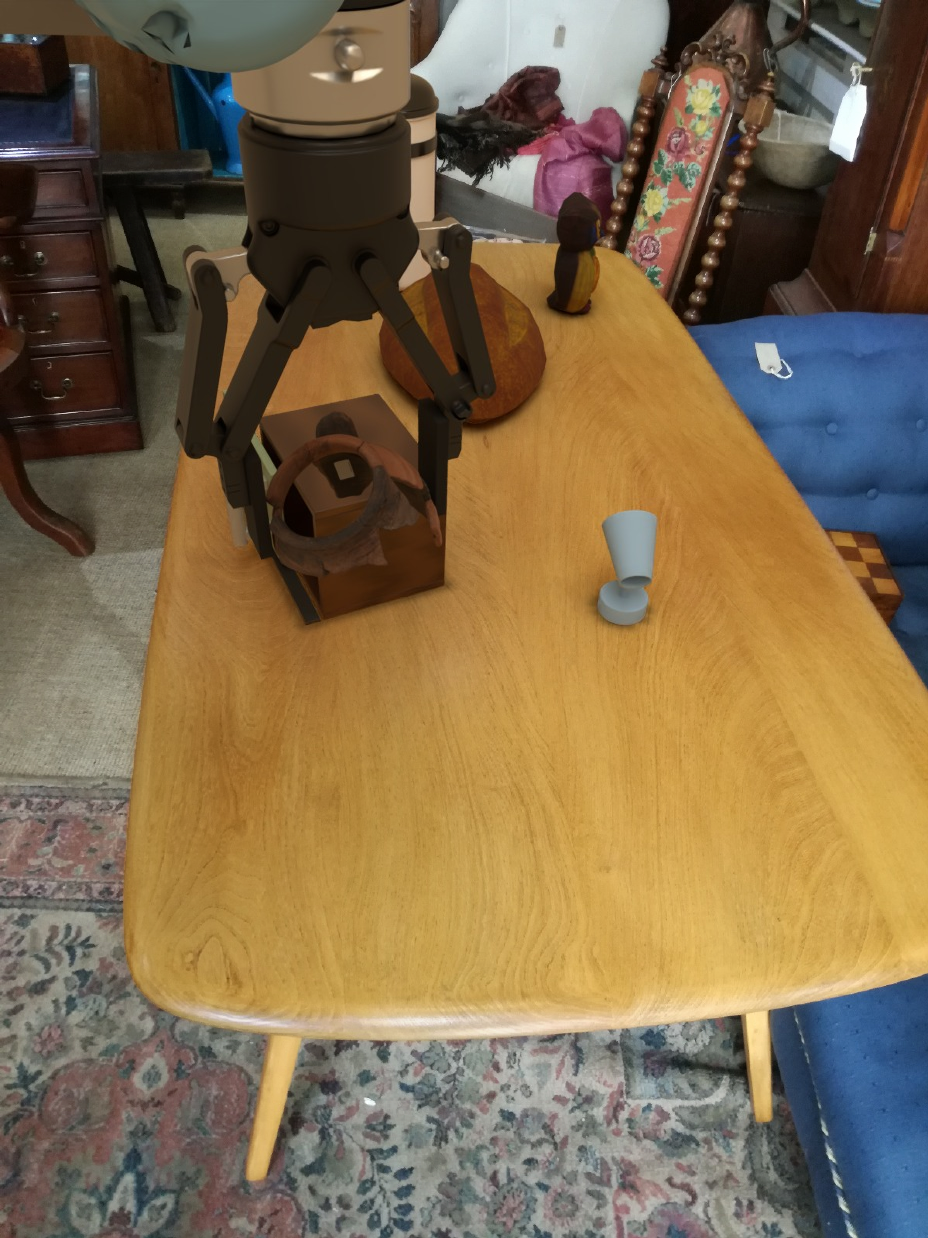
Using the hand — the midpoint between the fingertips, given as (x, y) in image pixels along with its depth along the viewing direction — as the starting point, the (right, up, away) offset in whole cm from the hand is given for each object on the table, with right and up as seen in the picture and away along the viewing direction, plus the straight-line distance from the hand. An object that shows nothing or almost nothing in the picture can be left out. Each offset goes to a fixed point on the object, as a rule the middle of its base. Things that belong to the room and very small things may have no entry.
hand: (349, 523), depth 55 cm
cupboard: (-6, +2, +37) cm, 38 cm away
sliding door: (-15, +4, +37) cm, 41 cm away
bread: (+7, +27, +64) cm, 70 cm away
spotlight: (+21, -5, +32) cm, 39 cm away
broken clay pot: (0, -1, +1) cm, 1 cm away
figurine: (+22, +39, +78) cm, 90 cm away
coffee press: (-4, +42, +81) cm, 91 cm away
